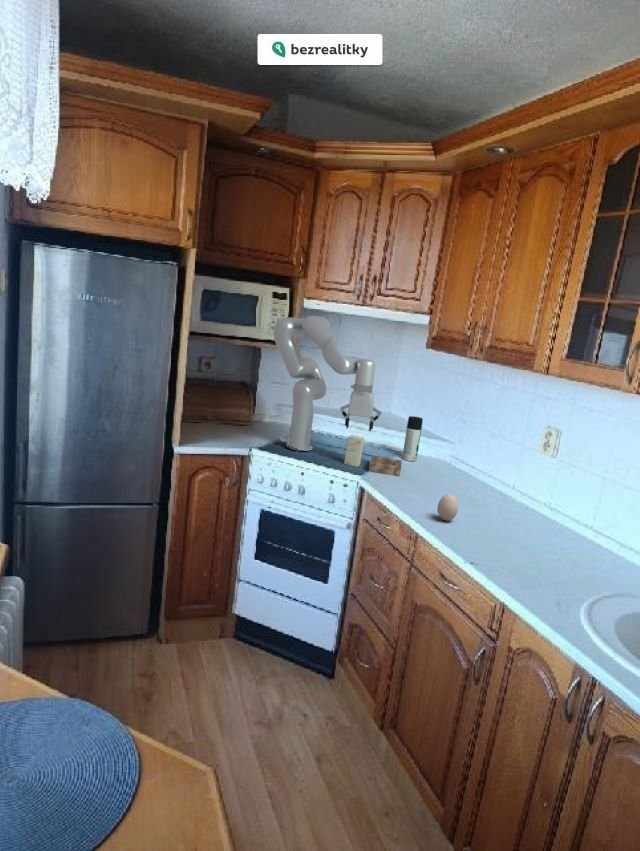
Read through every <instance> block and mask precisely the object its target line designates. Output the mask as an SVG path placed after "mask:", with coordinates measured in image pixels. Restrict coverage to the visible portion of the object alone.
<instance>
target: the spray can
mask: <svg viewBox="0 0 640 851" xmlns="http://www.w3.org/2000/svg"><path fill="white" fill-rule="evenodd" d="M423 421H424V419H423V418H422V417H420V416H413V415H412V416H411V415H410V416H408V418H407V424H406V430H405V431H406V432H405V438H404V443H403V451H402V459H403V460H404V461H406V460H407V462H412V461H413V462H416V461H417V459H418V452H419V446H420V441H421V433H422V428H423Z"/></svg>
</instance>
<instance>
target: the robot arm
mask: <svg viewBox="0 0 640 851" xmlns="http://www.w3.org/2000/svg"><path fill="white" fill-rule="evenodd" d="M293 338H309V339H311V341H312V342H313V343H314V344H315V345H316V346H317V347H318V348H319V349H320V350H321V354H322V357H323V359H324V362H326V364H327V365H328V366H329V367H330V368H331V369H332V370H333V371H334V372H335V373H336V374H338V375H343V376H346V375H355V379H354V380H355V381H354V384H351V385H350V388H351V389H353V390H352V391H351V393H350V397H349V398H350V399H349V403H348V404H346V405H342V406H340V411H341V412H340V413H341V414H342V415H343V417H344V418H345V421H344V426H345V428H346V429H348V428H349V425H350V417H351V416H354V417H361V418H369V420H370V421H369V426H368V432H371V431H372V430H373V429H374V422H376V420H378V419H379V417H380V416H381V415H382V411H380V410H379V409H377V408H376V407H375V406H374V404H375V399H374V398H375V397H374V396H375V395H374V392H373V388H374V378H375V370H376V362H375V360H373V359H368V358H361V357H358V356H353V355H352V356H350V355H349V356H344V355H343V354H342V352H340V351H339V350H338V349H337V347H336V346H335V344H336V343H337V338H338V337H337V336H336V335H335V334H334V333H333V332H332V330H331V323H330V321H329V320H328V319H327V318H326V317H325V316H321V315H319V316H318V315H309V316H308V315H307V317H305V318H299V317H289V316H288V317H283V318H280V319H279V320H278V321H277V322H276V323H275V325H274V329H273V339H274V342H275V345H276V347H277V348H278V350H279V353H280V355H281V358H282V360H283V363H284V365H285V368H286V371H287V373H288V375H289V376H290V377H291V378H292V379H296V380H297V379H298V380H297V382H295V383H294V385H293V388H292V413H291V422H290V429H289V430H290V431H289V436H287V437H284V436H280V437H279V442H282V443H285V444H286V443H287V445H290V446H292V447H294V448H297V449H298V450H304V451H305V450H306V451H308V450H312V449H314V447H313V446H312V445H310V444H311V437H312V431H313V430H312V428H313V420H314V413H315V412H314V403H313V401H317V400H321V399H323V398H324V397H325V396H326V395H327V394H326V393H327V384H326V382H325V378H324V377H323V374H322V371H321V369H320V367H319V365H318V363H317V361H316V360H315V359H313V358H312V357H307V356H305V357H304V355H302V353H301V350H300V347H299V345H298V344H297V342H295V340H294V339H293ZM299 379H300V380H299ZM345 409H347V411H348V412H347V413H346V411H345ZM373 413H376V415H375V416H373ZM312 451H313V450H312Z"/></svg>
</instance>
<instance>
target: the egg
mask: <svg viewBox="0 0 640 851" xmlns="http://www.w3.org/2000/svg"><path fill="white" fill-rule="evenodd" d="M438 501H439V502H438V504H437V510H436V511H437V514H438V516H439V518H440V519H441V520H443V521H445V520H446V522H448V521H452V520H453V519H454V518H455V517H456V516H457V514H458V511H459V505H458V504H459V503H458V501H457V498H456V497H455V496H454V495H453V494H451V493H447V494H445V495H443V496H442V497H441V498H440V500H438Z"/></svg>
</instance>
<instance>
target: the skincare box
mask: <svg viewBox="0 0 640 851" xmlns="http://www.w3.org/2000/svg"><path fill="white" fill-rule="evenodd" d="M364 444H365V437H361V436H359V435H358V436H357V435H353V434H351V435H349V436H348V437H347V444H346V449H345V454H344V455H345V456H344V461H343V462H344V463H343V464H344V465H348V466H352V467H359V466H360V465H361V461H362V455H363V450H364V449H363V448H364Z"/></svg>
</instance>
